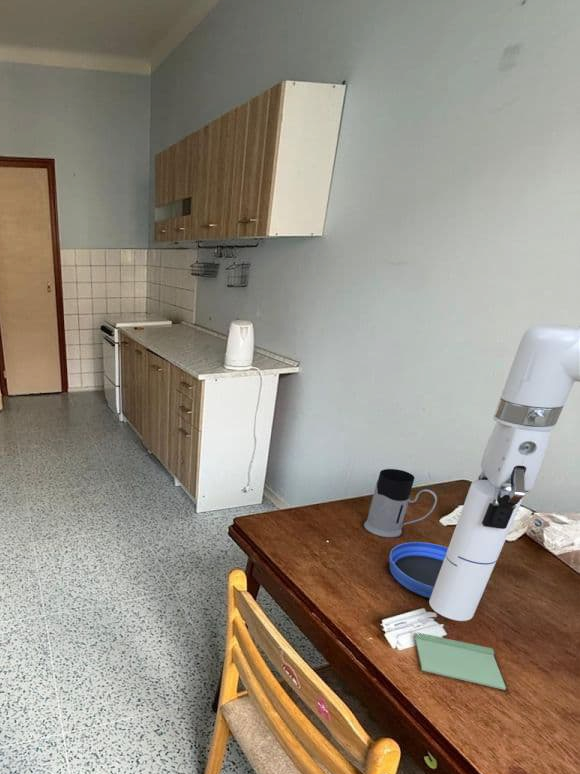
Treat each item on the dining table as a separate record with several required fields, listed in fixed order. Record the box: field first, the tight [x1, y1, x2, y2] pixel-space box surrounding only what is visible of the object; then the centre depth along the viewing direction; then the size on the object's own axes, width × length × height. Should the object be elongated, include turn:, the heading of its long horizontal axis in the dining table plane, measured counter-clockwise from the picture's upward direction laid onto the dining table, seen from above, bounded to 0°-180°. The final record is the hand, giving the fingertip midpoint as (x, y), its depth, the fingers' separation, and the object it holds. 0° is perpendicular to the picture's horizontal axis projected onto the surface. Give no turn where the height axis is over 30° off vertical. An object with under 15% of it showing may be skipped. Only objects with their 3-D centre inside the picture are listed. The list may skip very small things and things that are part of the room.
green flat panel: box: [413, 631, 507, 691], centre depth 82 cm, size 12×9×1 cm
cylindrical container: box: [428, 479, 525, 622], centre depth 83 cm, size 7×7×25 cm
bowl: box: [388, 541, 448, 599], centre depth 102 cm, size 18×18×4 cm
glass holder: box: [363, 468, 438, 538], centre depth 116 cm, size 9×14×15 cm, turn 39°
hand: (487, 514), depth 79 cm, fingers closed on cylindrical container, 7 cm apart
